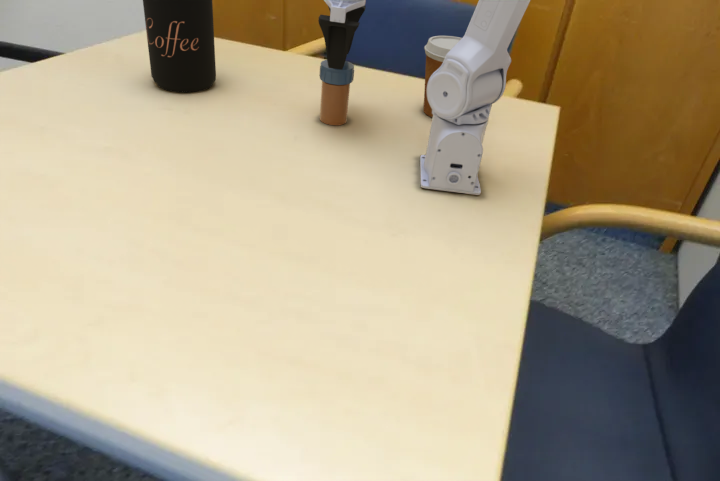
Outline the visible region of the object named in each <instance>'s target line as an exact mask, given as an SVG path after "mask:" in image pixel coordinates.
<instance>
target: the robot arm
mask: <svg viewBox="0 0 720 481" xmlns="http://www.w3.org/2000/svg"><path fill="white" fill-rule="evenodd" d="M323 2H325V4H326V5H327V7H328V10H329V15H327V14H320V15H319V16H318V25H319V28H320V30H321V32H322V35H323V39H324V45H325V51H326V52H325V53H326V60H327V62H328V67H329V68H333V69H340V70H342V69H343V66H344V64H345V61H347V56H348V55H349V53H350V51H351V48H352V45H353V41H354V37H355V35H356V34H355V33H356V31H357V30H358V28H359V26H360V24H361V22H359V21H360V20H361V18H362V16H363V14H364V13H365V11H366V3H367V0H323ZM530 2H531V0H478V1H477V4H476V6H475V8H474V10H473V14H472V15H471V18H470V21H469V23H468V26H467V28H466V31H465V33H464V35H463V36H462V37H461V38H462V39H461V40H460V41H459V42H458V43H457V44H456V45H455V46H454V47H453V48H452V49H451V50H450V51H449V52H448V53H447V54H446V56H445V59H444V61H443V63H442V65H441V66H440V67H439V69H437V70H436V71H435V72H434V73H433V74H432V75H431V77H430V78H429V81H428V84H427V99H428V102H429V105H430V107H431V108H432V114H433V117H431V118H432V119H431V123H430V129H429V135H428V139H427V146H426V151H425V154H421V155H420V156H419V169H420V170H419V173H420V174H419V175H420V187H421V188H423V189H427V190H435V191H442V192H450V193H458V194H467V195H475V196H479V195H481V193H482V189H481V185H480V181H479V180H480V179H479V170H480V168H481V167H480V166H481V162H482V159H483V154H484V147H483V142H484V139H485V135H486V130H487V126H488V123H489V118H490V114H491V111H492V106H493V104H495V103H497V102H498V101H499V100H500V99H501V98H502V97H503V95H504V92H505V90H506V86H507V73H508V70H509V67H510V65H511V63H512V58H511V56H510V53H509V51H508V48H509V46H510V44H511V42H512V40H513V38H514V36H515V34H516V32H517V30H518V28H519V25H520V23H521V22H522V19H523V17H524V15H525V13H526V10H527V9H528V7H529V5H530Z"/></svg>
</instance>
